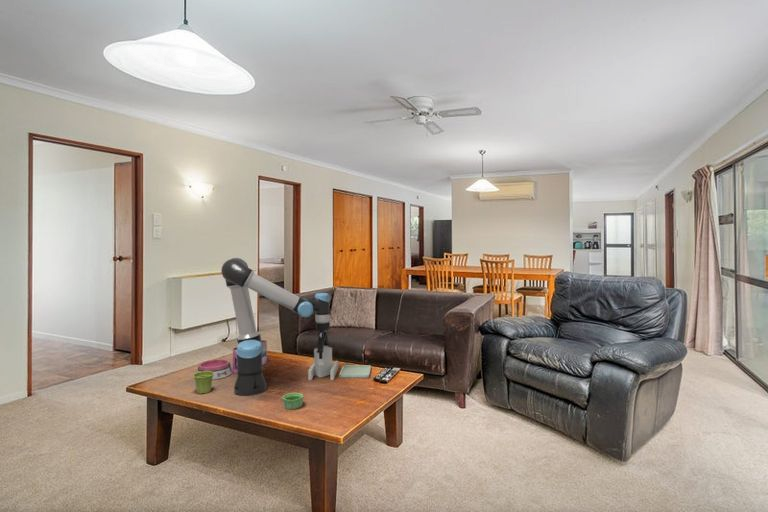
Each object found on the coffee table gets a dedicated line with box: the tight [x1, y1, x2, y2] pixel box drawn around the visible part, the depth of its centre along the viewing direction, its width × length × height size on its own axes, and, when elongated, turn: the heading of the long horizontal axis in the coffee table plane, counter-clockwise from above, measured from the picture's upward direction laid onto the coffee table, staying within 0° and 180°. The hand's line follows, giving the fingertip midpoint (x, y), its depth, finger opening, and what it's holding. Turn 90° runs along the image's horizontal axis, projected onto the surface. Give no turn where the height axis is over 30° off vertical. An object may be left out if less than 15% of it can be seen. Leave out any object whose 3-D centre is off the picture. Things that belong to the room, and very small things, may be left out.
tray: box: [338, 364, 372, 379], centre depth 231 cm, size 18×16×2 cm
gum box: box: [232, 339, 268, 374], centre depth 242 cm, size 24×8×14 cm, turn 163°
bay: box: [307, 360, 340, 381], centre depth 229 cm, size 20×13×5 cm
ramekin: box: [282, 392, 304, 410], centre depth 185 cm, size 9×9×4 cm
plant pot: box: [192, 371, 214, 395], centre depth 204 cm, size 9×9×9 cm
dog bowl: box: [196, 358, 233, 381], centre depth 230 cm, size 18×19×7 cm
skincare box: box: [313, 345, 333, 378], centre depth 227 cm, size 8×6×15 cm
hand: (323, 361), depth 227 cm, fingers open, 13 cm apart
